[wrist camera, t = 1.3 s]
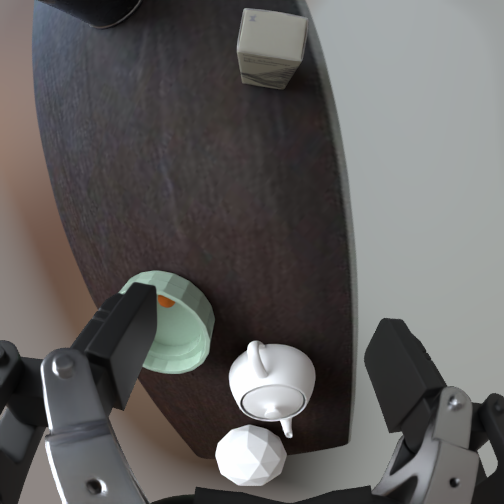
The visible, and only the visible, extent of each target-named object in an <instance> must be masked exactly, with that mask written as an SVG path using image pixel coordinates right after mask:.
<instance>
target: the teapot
mask: <svg viewBox="0 0 504 504" xmlns="http://www.w3.org/2000/svg"><path fill="white" fill-rule="evenodd" d="M229 383H230V388H231V391H232V393H233V396H234V398H235V400H236V402H237V404H238V406H239V408H240V409H241V410H242V411H243V413H245V414H246V415H247V416H249V417H251V418H254V419H257V420H262V421H280V422H281V424H282V427H283V430H284V433H285V435H286V437H288V438H291V437H292V436H293V434H292V429H291V423H292V417H294V416H296V415H297V414H299V413H300V412H302V411H303V409H304V408H305V407H306V405H307V403H308V401H309V399H310V397H311V394H312V392H313V388H314V384H315V368H314V366H313V364H312V361H311V360H310V359H309V358H308V356H307V355H306V354H304V353H303V352H302V351H300V350H298V349H296V348H294V347H291V346H287V345H282V344H267V345H264V344H263V343H262V342H260V341H253V342H250V343H249V345H248V347H247V351H245V352H244V353H242V354H241V355H240V356H239V357H238V358H237V359H236V360H235V361H234V362H233V364H232V366H231V368H230V373H229Z"/></svg>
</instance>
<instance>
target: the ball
mask: <svg viewBox="0 0 504 504" xmlns="http://www.w3.org/2000/svg"><path fill="white" fill-rule="evenodd" d="M158 302H159V304H160V305H161V306H162V307H165V308H169V307H172V306H173V305H174V304H175V301H173V300H171V299H169V298H167V297H165V296H163V295H158Z"/></svg>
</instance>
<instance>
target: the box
mask: <svg viewBox="0 0 504 504" xmlns="http://www.w3.org/2000/svg"><path fill="white" fill-rule="evenodd" d="M308 25H309V19H307V18H305V17H301V16H297V15H292V14H287V13H281V12H275V11H268V10H259V9H249V8H245V9H244V11H243V16H242V20H241V26H240V31H239V37H238V44H237V54H238V61H239V66H240V71H241V78H242V83H244V84H250V85H256V86H263V87H269V88H276V89H285V87H286V85H287V84H288V82H289V80H290V79H291V77H292V76H293V74H294V73H295V71H296V70H297V68H298V67H299V65H300V63H301V62H302V60H303V55H304V49H305V44H306V39H307V33H308Z"/></svg>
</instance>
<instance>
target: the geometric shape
mask: <svg viewBox="0 0 504 504" xmlns="http://www.w3.org/2000/svg"><path fill="white" fill-rule="evenodd" d="M215 456H216V459H217V462H218V466H219V469H220V472H221V474H222V475H224V476H225V477H227V478H228V479H230V480H231V481H233V482H234V483H236V484H237V485H239V486H240V485H241V486H262V485H264V484H265V483H267V482H268V481H270V480H272V479H273V478H275V477H276V476H278V475H279V474H280V473H281V471H282V468H283V465H284V462H285V459H286V456H287V454H286V451H285V449H284V447H283V444H282V442H281V440H280V438H279V437H278V436H277V435H275V434H274V433H272V432H271V431H269V430H268V429H265V428H262V427H258V426H254V425H246V426H243V427H240V428H236V429H233V430H231V431H230V432H229V433H228V434H227V435H226V436H225V437H224V438H223V439H222V440H221V441H220V442H219V443H218V446H217V450H216V455H215Z"/></svg>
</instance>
